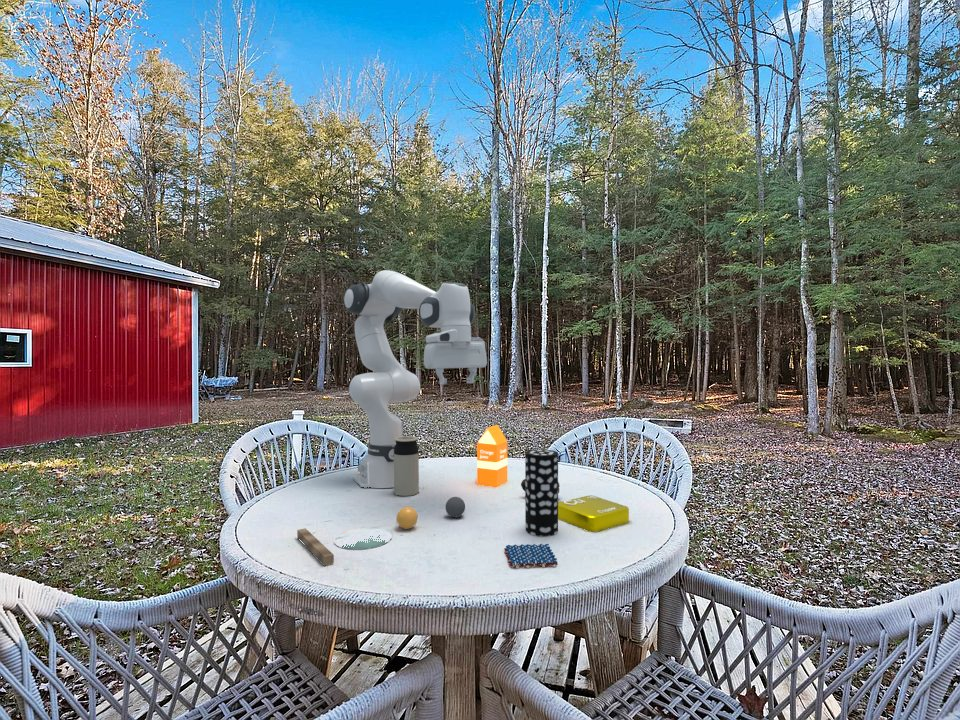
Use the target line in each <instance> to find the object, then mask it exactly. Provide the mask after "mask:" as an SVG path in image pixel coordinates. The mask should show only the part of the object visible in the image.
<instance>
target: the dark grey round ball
mask: <svg viewBox="0 0 960 720" xmlns="http://www.w3.org/2000/svg"><path fill="white" fill-rule="evenodd" d="M465 510H466V502H465V501H464V500H463V498H461V497H459V496H452V497H450V498H449V499H448V500H447V501H446V503H445V511H446V513H447V515H448V516H450V517H451V518H459V517H462V515H463V514H464V513H465Z"/></svg>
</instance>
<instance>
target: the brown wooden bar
mask: <svg viewBox="0 0 960 720" xmlns="http://www.w3.org/2000/svg"><path fill="white" fill-rule="evenodd" d="M296 535H297V537H298V538H299V539H300V540H301V541H302V542H303V543H304V544H305V545H304V544H303V543H302V542H301V541H300V540H299V539H298V538H297V537H296V538H297V539H298V540H299V541H300V542H301V543H302V544H303V545H304V546H306V547H307V548H308V549H309V550H310V551H311V552H312V553H313V554H314V555H315V556H316V557H317V558H318V559H319V560H320V561H321V562H322V563H323V564H324V565H323V564H322V563H321V562H320V561H319V560H318V559H317V558H316V557H315V556H314V555H313V554H312V553H311V552H310V551H309V550H308V549H307V548H306V549H307V550H308V551H309V552H310V553H311V554H312V555H313V556H314V557H315V558H316V559H317V560H318V561H319V562H320V563H321V564H322V565H323V567H326V566H325V565H327V566H330V565H329V564H331V565H334V564H335V563H334V562H335V558H334V557H335V555H334V553H332V551H331V550H330V549H328V548H327V547H326V545H324V544H323V543H322V542H321V541H320V540H318V538H317V537H315V536H314V535H313V534H312V533H311V532H310V531H309V530H308V529H307V528H301V529H297V534H296ZM333 563H334V564H333Z"/></svg>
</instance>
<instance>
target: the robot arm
mask: <svg viewBox="0 0 960 720" xmlns="http://www.w3.org/2000/svg"><path fill="white" fill-rule="evenodd" d="M343 304H344V307H345V310H347V312H348V313H350V314H354V315H360V316H358V317H357V318H356V320H355V321H354V336H355V341H356V346H357V350H358V352H359V358H360V360H361V363H362V365H363V366H364V367H365V368H366V369H368V370H370V371H373V372H365V373H361V374H357V375H354V377H353V378H352V379H351V381H350V383H349V387H348V390H349V391H348V392H349V395H350V398H351V399H352V401H353V402H354V403H356V404H357V405H358V406H360V408H362V410H363V411H364V412H365V415H366V417H367V420H368V427H369V443H368V444H367V445H368V446H367V455H366V456H365V457H364V458H363V459H362V460H361V461H360V463H359V465H357V472H358V473H357V474H355V475H353V478H354V479H355V480H354V479H353V478H352V479H353V480H354V481H355V482H356V484H357V483H358V484H359V485H360V486H359V485H358V484H357V485H358V486H359V488H361V487H364V488H363V489H366V488H367V487H368V488H369V487H371V489H390V488H394V447H395V445H396V441H395V438H397V437H403V422H402V420H401V419H400V417H399V416H397V415H396V414H393V413H392V412H390V409H389V406H388V405H389V404H398V403H405V402H409V401H412V400H415V399H416V398H418V396H419V394H420V390H421V383H420V380H419V378H418V377H417V375H416V374H415V373H413V372H411V371H409V370H407V368H405V367H404V366H403V365H401V363H400V362H399V361H398V360H397V358H396V357H395V356H394V353H393V351H392V349H391V346H390V343H389V340H388V337H387V334H386V331H385V329H384V328H385V327H384V324H385V323H390V322H392V321H393V320H394V319H395V318H396V317H398V315H399V314H400V313H401V311H402V310H403V309H411V310H412V309H413V310H414V309H417V310H419V311H418V314H419V318H420V321H421V322H422V324H423V325H424V326H425V327H429V328H435V329H437V328H438V329H439V328H440V331H437V332H435V333H432V334H431V333H430V334H428V335H426V336H425V342H426V343H427V344H426V345H425V346H424V351H423V366H424V367H425V369H427V370H429V369H430V370H432V369H434V370H435V375H436V377H438V379H439V383H438V384H439V385H441V386H442V385H447V384H448V382H447V381H448V378H445V377H444V374H443V373H445V372H444V369H469V370H468V372H469V375H468V376H467V377H466V384H474V383H475V380H474V379H475V377H476V374H477V372H478V369H479V368H486V366H487V364H488V357H487V351H486V342H485V341H484V339H483V338H481V337H480V336H479V337H478V336H477V337H476V336H475V337H474V336H472V328H471V327H472V326H471V325H472V324H473V323H474V321H475V319H476V318H475V317H476V310H475V309H476V308H475V307H474V305H473V303H472V302H471V296H470V291H469V287H468V286H467V284H466V283H462V282H454V281H453V282H452V281H444V282H442V284H441V285H440V287H439V289H438V290H437V291H435V290H433V289H431V288H429V287H428V286H425V285H423V284H421V283H420V282H417V281H416V280H414V279H412V278H410V277H408V276H406V275H404V274H402V273H400V272H397V271H395V270H394V271H393V270H388V269H385V270H381V271H378V272H377V273H376V274H375V275H374V277H373V279H372V282H371V283H369V284H368V283H366V282H365V281H363V282H360V283H357V284H352V285H350V286H349V287H348V288H347V289H346V291H344V296H343ZM368 488H367V489H368Z"/></svg>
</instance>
